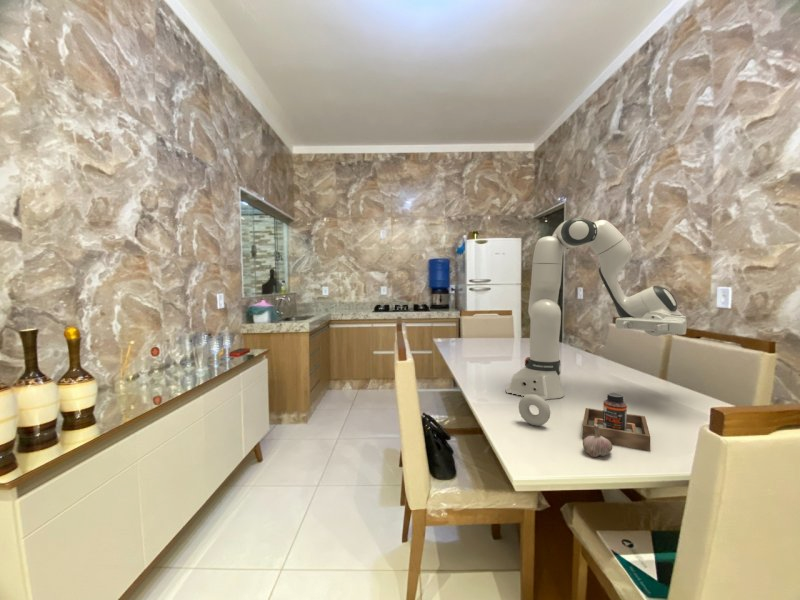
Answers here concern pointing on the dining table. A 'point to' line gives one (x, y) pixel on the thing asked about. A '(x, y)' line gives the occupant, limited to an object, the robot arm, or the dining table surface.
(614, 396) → the supplement bottle
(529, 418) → the donut
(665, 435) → the dining table surface
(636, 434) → the walled box
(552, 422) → the dining table surface
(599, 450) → the garlic bulb
